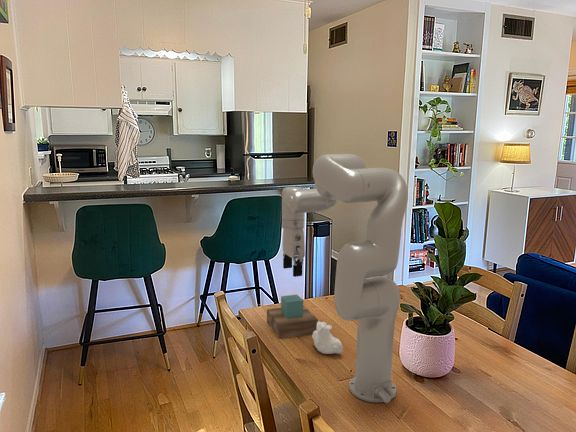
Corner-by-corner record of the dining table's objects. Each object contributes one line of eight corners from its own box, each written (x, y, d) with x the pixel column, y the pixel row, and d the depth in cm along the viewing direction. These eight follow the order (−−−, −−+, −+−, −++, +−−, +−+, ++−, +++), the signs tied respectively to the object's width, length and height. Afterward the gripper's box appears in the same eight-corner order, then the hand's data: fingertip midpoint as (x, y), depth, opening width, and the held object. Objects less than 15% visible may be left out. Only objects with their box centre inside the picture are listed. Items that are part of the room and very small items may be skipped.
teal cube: (303, 316, 160) (303, 300, 159) (286, 318, 158) (287, 302, 157) (296, 310, 165) (296, 294, 164) (281, 312, 163) (281, 296, 162)
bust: (311, 351, 150) (296, 332, 144) (324, 332, 153) (310, 313, 147) (339, 365, 142) (325, 345, 135) (352, 345, 145) (338, 324, 138)
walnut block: (317, 332, 158) (317, 319, 158) (279, 338, 154) (279, 324, 153) (302, 317, 171) (302, 304, 170) (266, 322, 167) (266, 309, 166)
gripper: (313, 227, 149) (312, 278, 152) (294, 218, 165) (293, 264, 168) (291, 229, 146) (291, 280, 149) (274, 219, 162) (274, 266, 165)
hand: (292, 271), depth 159 cm, fingers open, 9 cm apart
